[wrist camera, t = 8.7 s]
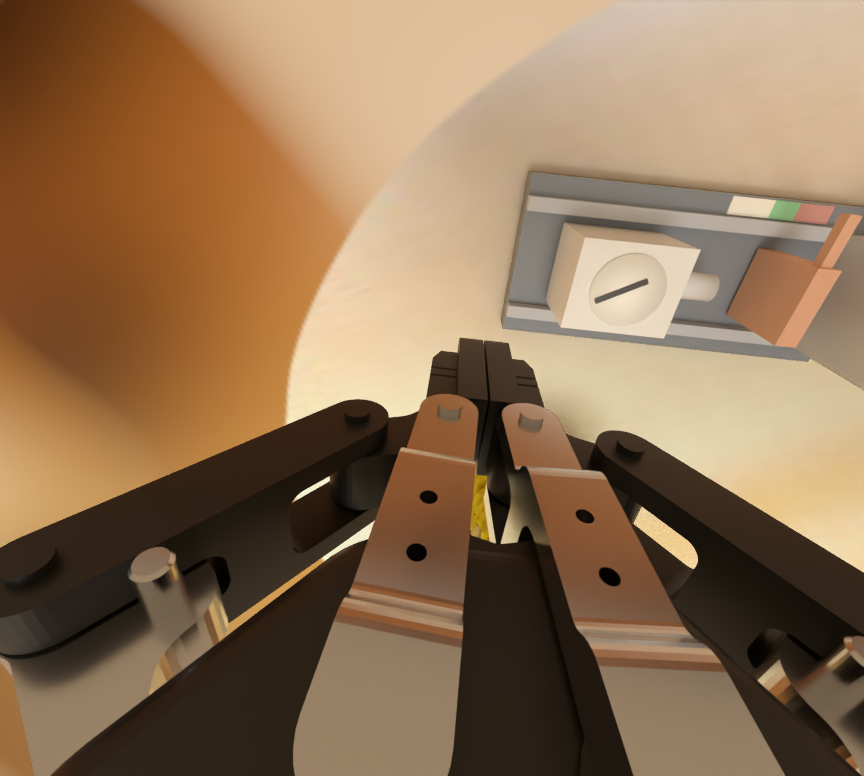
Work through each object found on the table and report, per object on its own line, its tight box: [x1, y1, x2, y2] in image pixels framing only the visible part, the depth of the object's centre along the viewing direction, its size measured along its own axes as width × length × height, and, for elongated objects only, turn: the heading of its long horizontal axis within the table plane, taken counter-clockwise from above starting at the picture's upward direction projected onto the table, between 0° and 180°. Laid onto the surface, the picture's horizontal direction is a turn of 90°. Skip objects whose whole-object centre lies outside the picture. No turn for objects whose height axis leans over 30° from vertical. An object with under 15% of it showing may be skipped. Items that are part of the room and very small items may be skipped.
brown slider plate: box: [726, 213, 863, 348], centre depth 24 cm, size 1×7×5 cm, turn 175°
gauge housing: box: [545, 222, 720, 339], centre depth 24 cm, size 9×5×5 cm, turn 85°
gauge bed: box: [501, 171, 864, 390], centre depth 24 cm, size 22×10×10 cm, turn 85°
